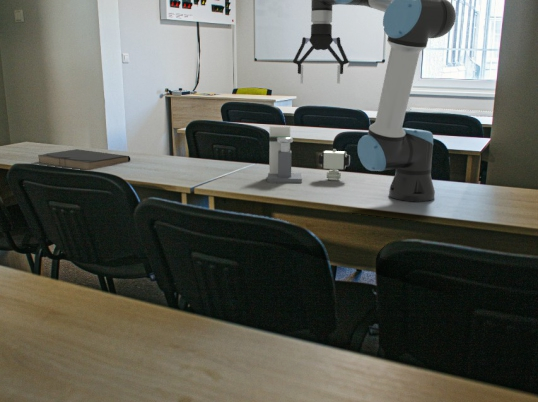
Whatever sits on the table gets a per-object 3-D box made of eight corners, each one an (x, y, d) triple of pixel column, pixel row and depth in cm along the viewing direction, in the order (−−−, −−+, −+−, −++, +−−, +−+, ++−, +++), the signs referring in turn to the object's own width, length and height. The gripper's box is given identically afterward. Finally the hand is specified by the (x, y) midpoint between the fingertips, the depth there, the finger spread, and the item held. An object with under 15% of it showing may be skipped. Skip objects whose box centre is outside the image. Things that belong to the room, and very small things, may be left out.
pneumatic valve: (348, 181, 220) (349, 150, 217) (317, 180, 223) (318, 149, 220) (349, 178, 226) (350, 148, 223) (319, 177, 228) (320, 147, 225)
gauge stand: (300, 176, 229) (301, 126, 224) (301, 182, 218) (302, 129, 213) (268, 176, 229) (268, 126, 224) (267, 182, 218) (267, 129, 214)
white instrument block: (292, 164, 226) (292, 136, 223) (292, 167, 219) (293, 139, 217) (269, 164, 226) (269, 136, 223) (268, 167, 220) (269, 138, 217)
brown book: (37, 154, 257) (80, 148, 277) (37, 163, 258) (80, 156, 278) (88, 161, 240) (130, 154, 260) (88, 171, 241) (130, 163, 261)
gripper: (354, 24, 212) (352, 82, 217) (287, 23, 213) (286, 82, 218) (357, 23, 205) (354, 83, 210) (287, 22, 205) (286, 83, 211)
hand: (320, 83), depth 214 cm, fingers open, 13 cm apart
